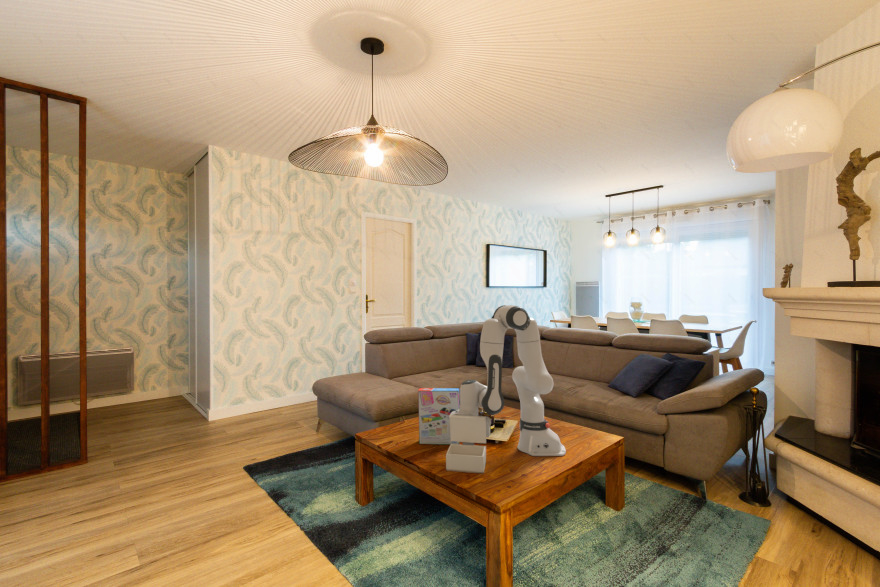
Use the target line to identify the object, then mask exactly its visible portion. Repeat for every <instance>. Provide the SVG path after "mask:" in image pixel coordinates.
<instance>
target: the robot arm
mask: <svg viewBox="0 0 880 587" xmlns="http://www.w3.org/2000/svg"><path fill="white" fill-rule="evenodd" d="M508 329H509V330H510V329H512V330H514V331H515V335H516V345H517V356H518V358H519V360H520V361H521V364H522V365H520V366H516V367H515V368H514V370H513V371H512V373H511V374H512V375H511V378H512V381H513V382H514V384H515V386H516V390H517V393H518V394H517V395H518V398H519V401H520V402H519V403H520V417H519V430H520V432H519V439H518V444H517V449H518V450H519V451H520V452H523V453H525V454H527V455H530V456H532V457H554V456H555V457H556V456H557V457H558V456H559V457H560V456H561V457H563V456H564V455H566V453H567V450H566V447H565V445H564V444H562V443H561V439H560V437H559V435H558V434H557V433H556V432H554V431H553V430H552V429H551V428H550V427H551V425H550V423H549V421H548V419H545V405H544V402H543V400H542V398H541V395H547V394H549V393H551V391H552V390H553V388H554V385H555V384H554V379H553V377H552V375H551V374H550V373H549V371H548V369H547V367H546V364H545V362H544V358H543V354H542V346H541V335H540V330H539V326H538V322H537V320H536V319H535V318H533V317H530V316H529V314H528V312H527V311H526V309H525V308H523V307H522V306H519V305H512V304H509V305H506V304H505V305H501V306H498V307H497V308H496V309H495V310H494V312H493V315H492V316H491V318H489V319H486V320H484V322H483V325H482V329H481V334H480V343H479V352H480V357H481V358H482V361H483V362H484V364H485V367H486V369H487V370H486V371H487V380H486V385H484V384H482V383H480V382H479V381H478V380H476V379H466V380H464V381H462V382H461V383H460V387H459V410H456V411H453V412H451V414H450V415H466V416H479V408H482V409H483V411H484V412H485V413H486V414H488V415H491V416H494V415H497V414H499V413H501V412H502V411H503V409H504V407H505V398H504V396H503V393H502V392H503V391H502V383H503V382H502V381H503V380H502V379H503V378H502V377H503V354H504V343H505V335H506V332H507V331H508ZM491 424H492V420H491V417H488V416H487V415H486V438H489V437H490V436H491ZM447 433H448V434H450V419H449V421H448V424H447ZM469 443H471V442H469Z"/></svg>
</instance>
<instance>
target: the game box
mask: <svg viewBox="0 0 880 587" xmlns="http://www.w3.org/2000/svg"><path fill="white" fill-rule="evenodd" d="M417 398H418V399H417V400H418V401H417V402H418V403H417V404H418V444H419V445H424V444H425V445H450V444H461V442H456V441H451V438H450V434H448V433H447V424H448V421H449V419H450V418H449V415H450V414H451V412H453V411H456V410H459V407H460V387H459V388H458V387H457V388H456V387H455V388H454V387H453V388H452V387H451V388H450V387H449V388H448V387H447V388H445V387H444V388H443V387H442V388H441V387H438V388H437V387H420V388H419V389H418V390H417Z"/></svg>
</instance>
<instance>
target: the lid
mask: <svg viewBox="0 0 880 587" xmlns="http://www.w3.org/2000/svg"><path fill="white" fill-rule="evenodd" d="M486 416H487V415H486ZM486 416H483V415H478V416H466V415H449V418H450V438H451V441H456V442H460V443H462V445H475V444H487V437H486ZM469 442H471V443H469Z"/></svg>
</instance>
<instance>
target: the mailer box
mask: <svg viewBox="0 0 880 587" xmlns="http://www.w3.org/2000/svg"><path fill="white" fill-rule="evenodd" d="M486 463H487V446H486V445H476V444H474V445H463V444H461V443H460V444H449V447H448V449H447V451H446V453H445V471H447V472H460V473H462V472H463V473H473V474H485V468H486Z"/></svg>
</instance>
